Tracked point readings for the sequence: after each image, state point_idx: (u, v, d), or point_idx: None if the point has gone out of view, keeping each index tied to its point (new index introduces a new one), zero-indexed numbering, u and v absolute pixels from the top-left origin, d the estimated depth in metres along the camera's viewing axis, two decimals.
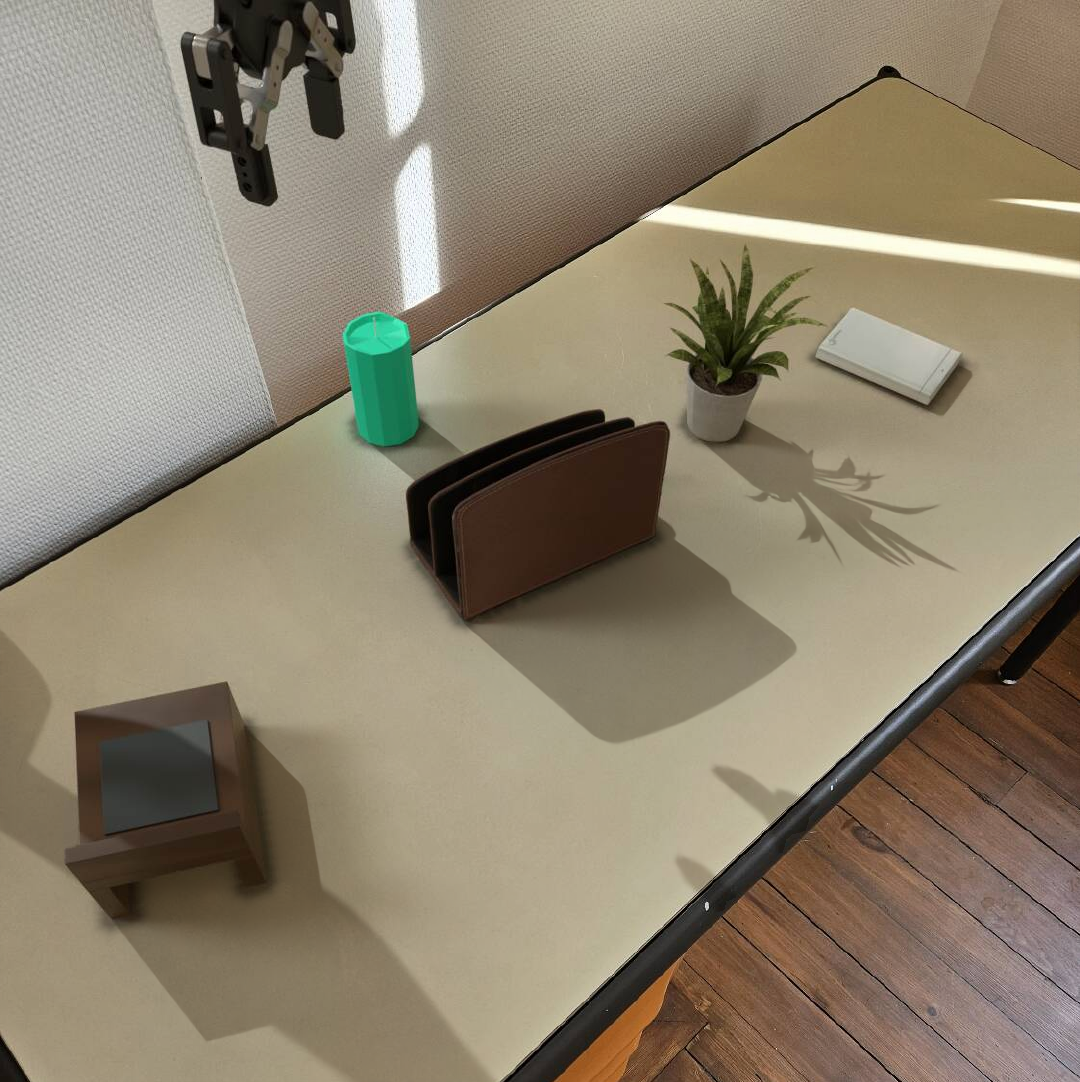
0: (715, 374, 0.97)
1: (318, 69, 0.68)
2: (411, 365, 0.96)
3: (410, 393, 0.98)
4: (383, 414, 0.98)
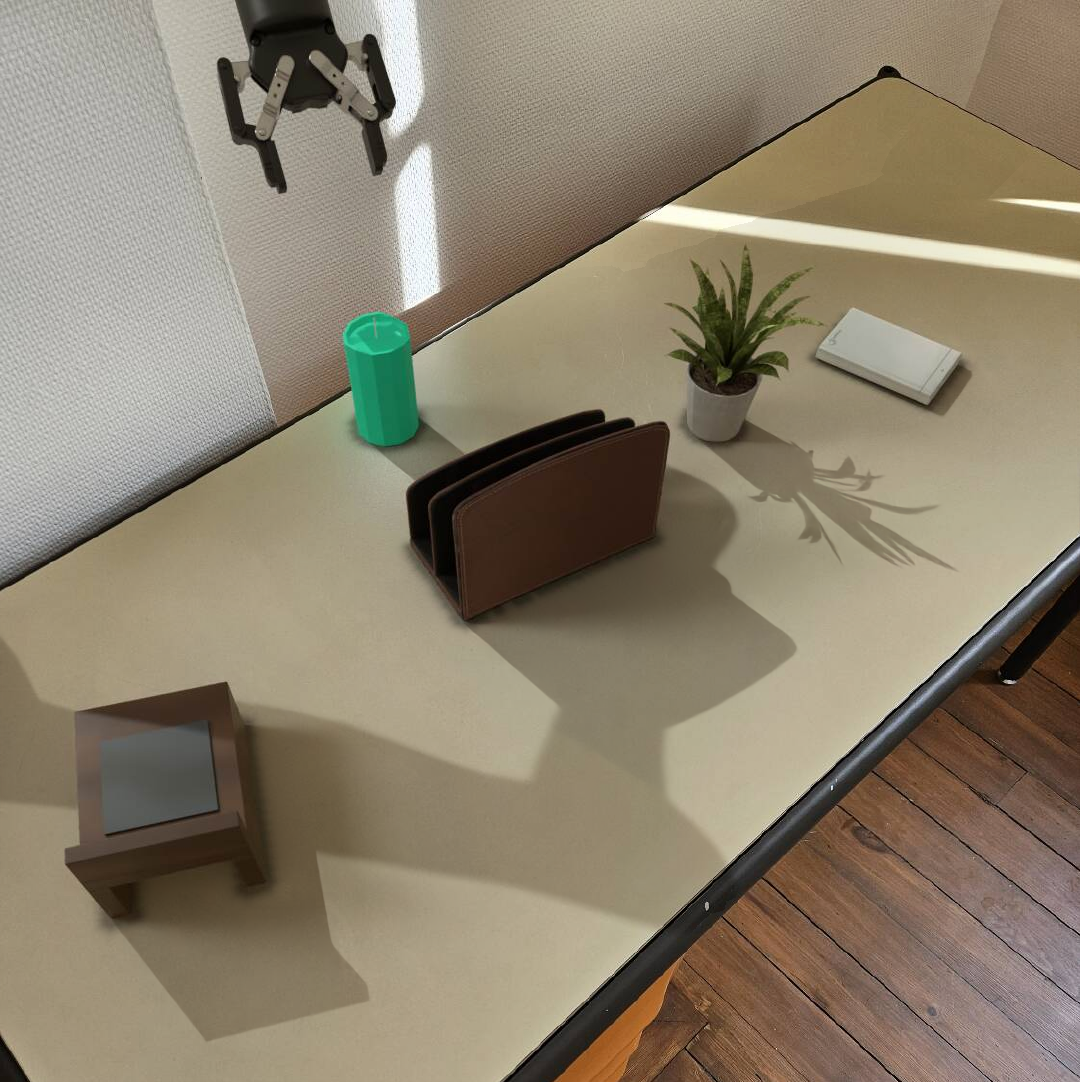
0: (715, 374, 0.97)
1: None
2: (411, 365, 0.96)
3: (410, 393, 0.98)
4: (383, 414, 0.98)
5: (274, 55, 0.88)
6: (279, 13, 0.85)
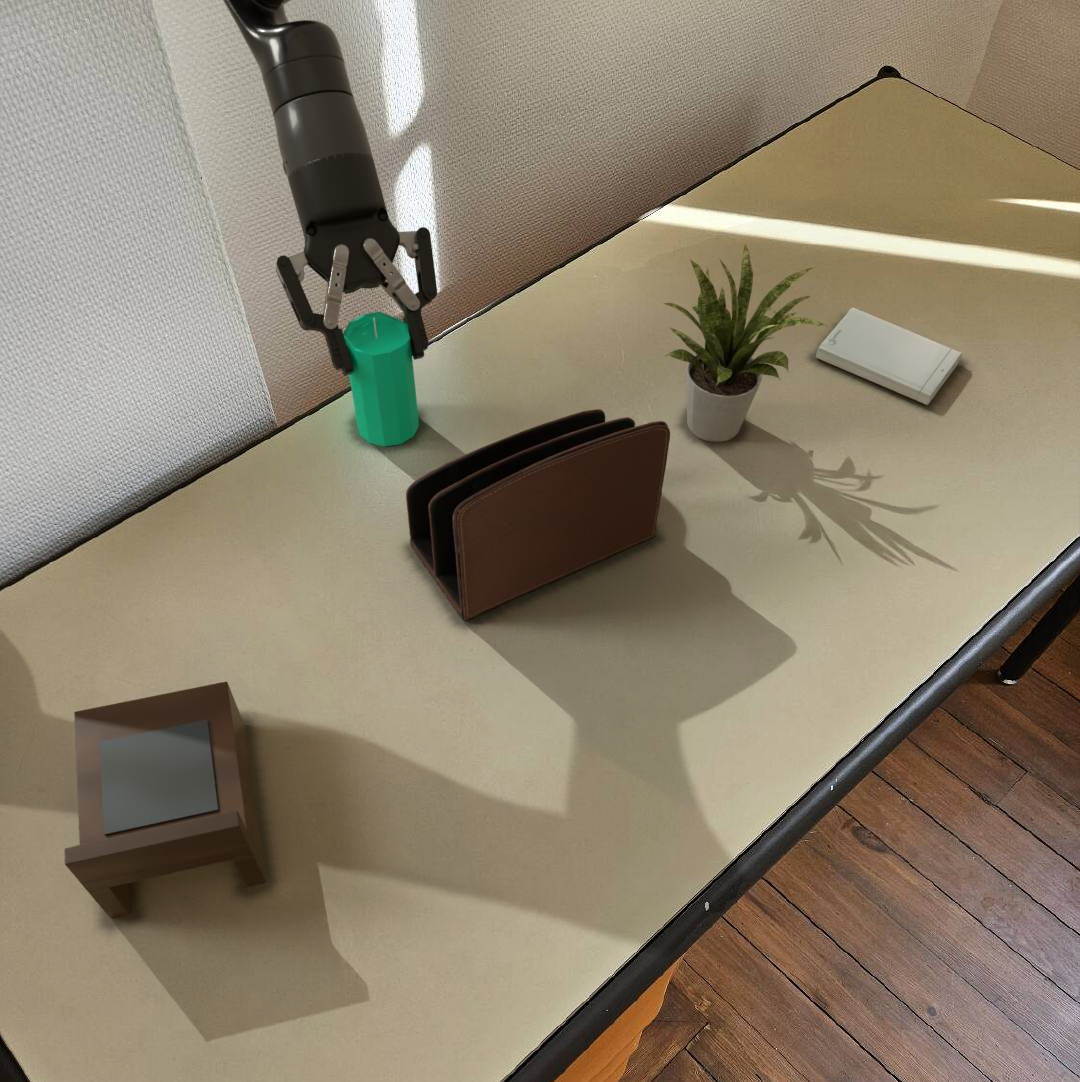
0: (715, 374, 0.97)
1: (336, 324, 0.93)
2: (411, 365, 0.96)
3: (410, 393, 0.98)
4: (383, 414, 0.98)
5: (329, 244, 0.91)
6: (335, 208, 0.88)
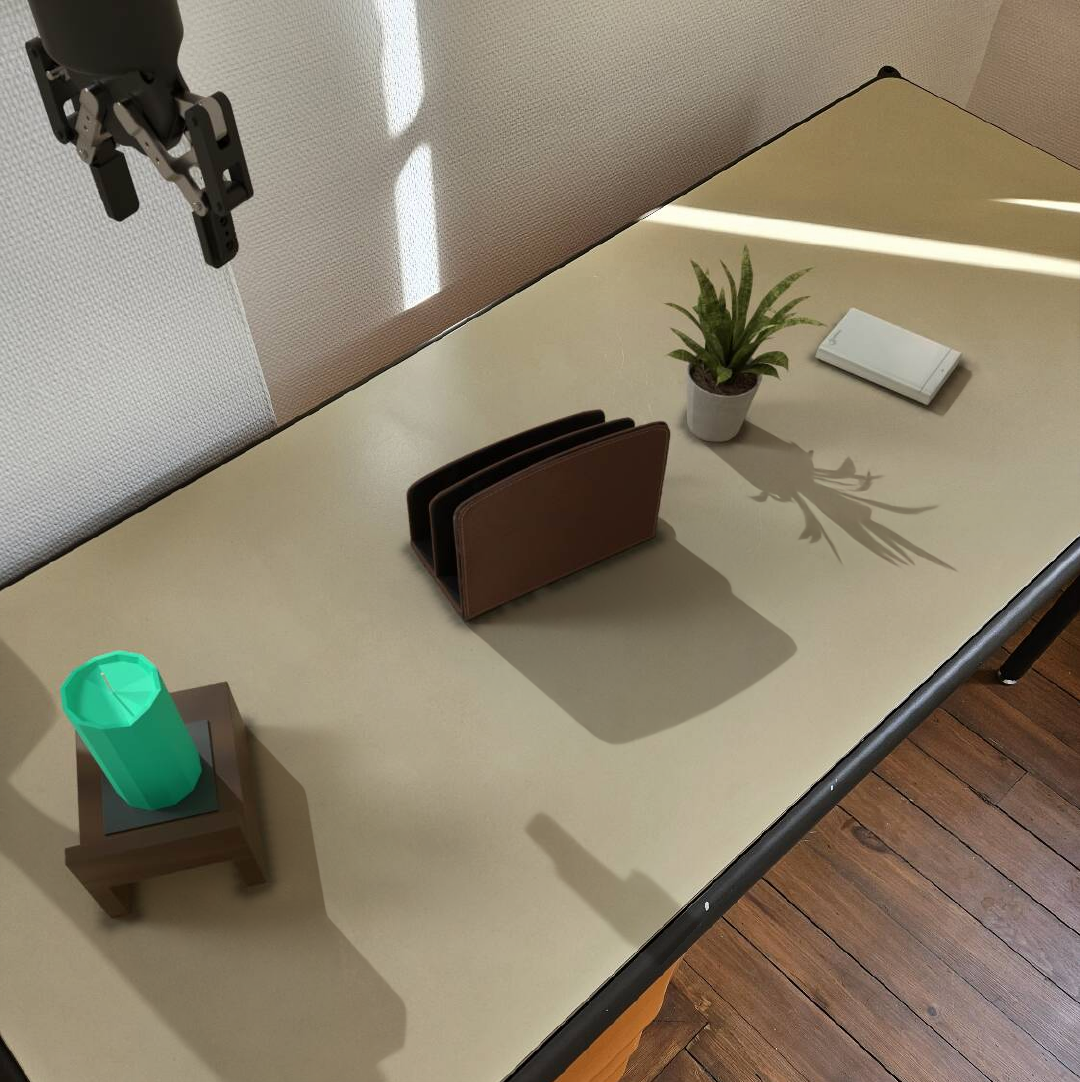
0: (715, 374, 0.97)
1: (106, 150, 0.66)
2: (138, 750, 0.66)
3: (134, 773, 0.68)
4: (101, 767, 0.70)
5: None
6: (50, 56, 0.57)
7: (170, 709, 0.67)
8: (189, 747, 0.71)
